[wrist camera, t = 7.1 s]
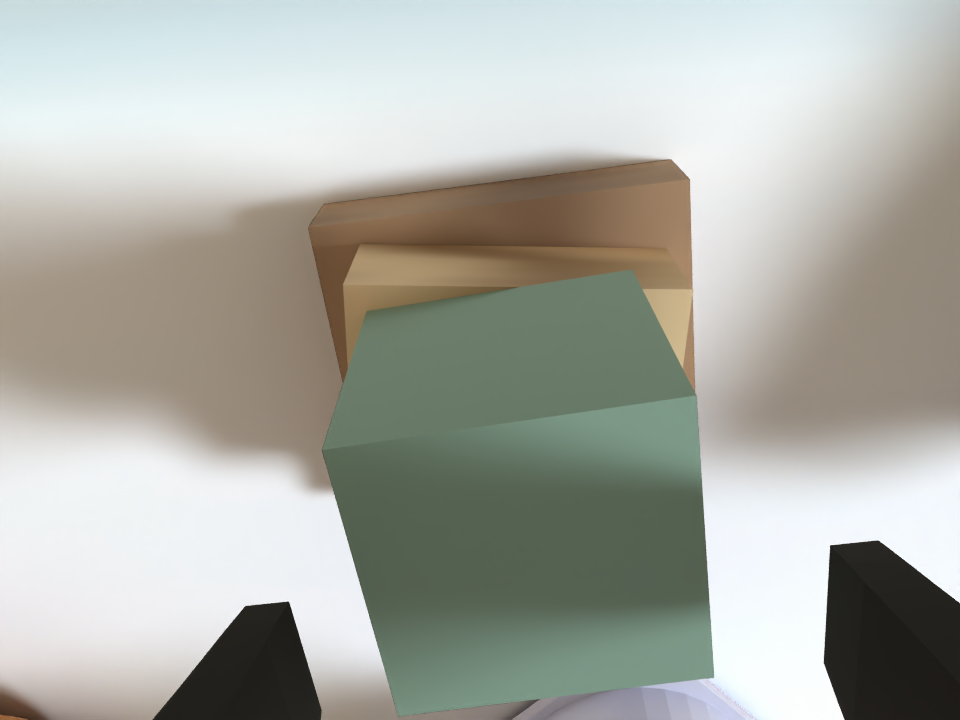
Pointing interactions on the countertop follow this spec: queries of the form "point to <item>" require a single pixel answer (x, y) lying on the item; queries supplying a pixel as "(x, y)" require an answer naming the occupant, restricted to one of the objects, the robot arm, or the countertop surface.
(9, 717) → the onion
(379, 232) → the walnut slab
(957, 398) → the countertop surface
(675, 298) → the oak slab
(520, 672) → the green cube
